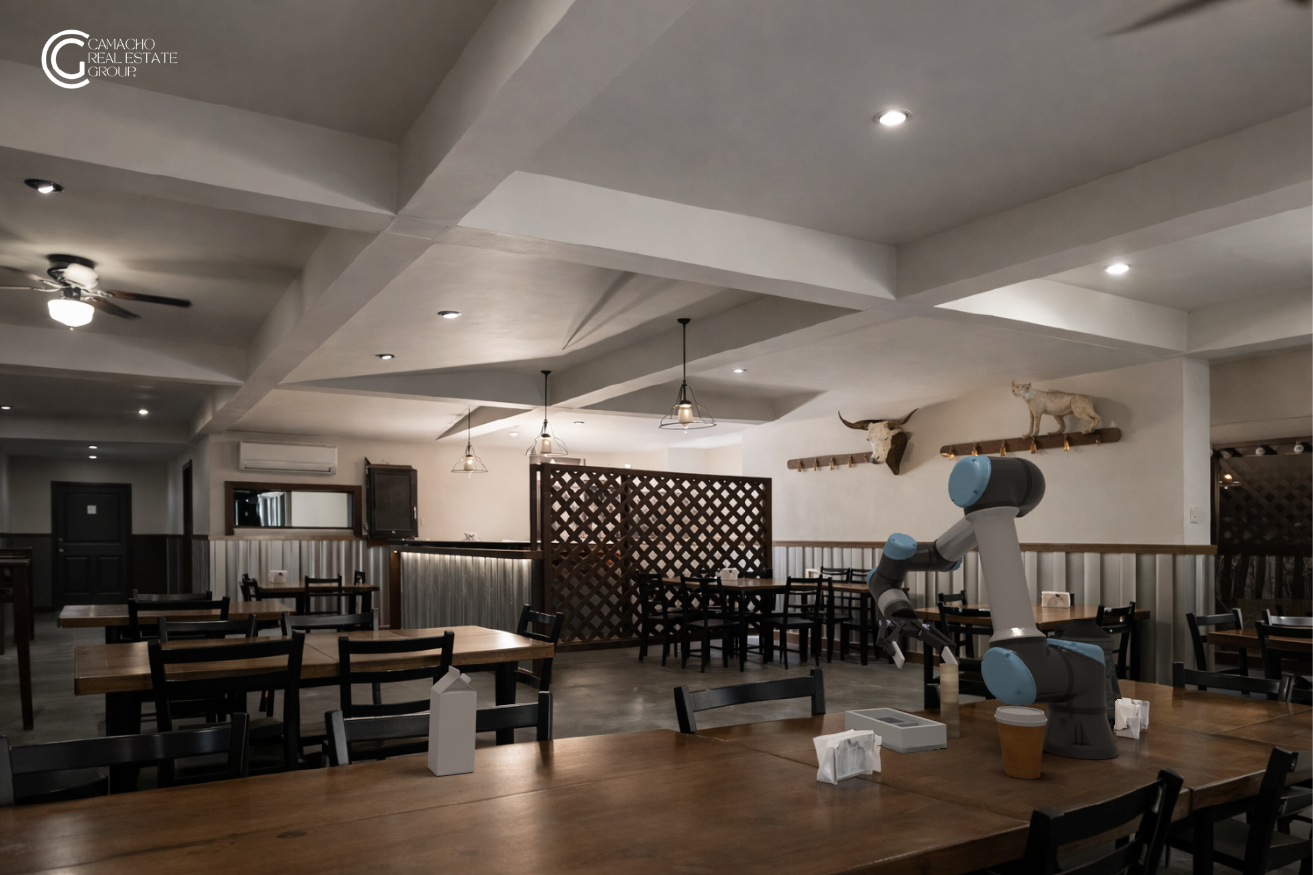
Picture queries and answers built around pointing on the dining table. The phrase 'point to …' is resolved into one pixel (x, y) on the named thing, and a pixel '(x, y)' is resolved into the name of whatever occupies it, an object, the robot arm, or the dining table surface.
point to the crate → (899, 729)
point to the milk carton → (452, 725)
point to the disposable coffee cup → (1021, 740)
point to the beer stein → (1095, 635)
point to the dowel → (950, 699)
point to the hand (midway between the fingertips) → (928, 666)
